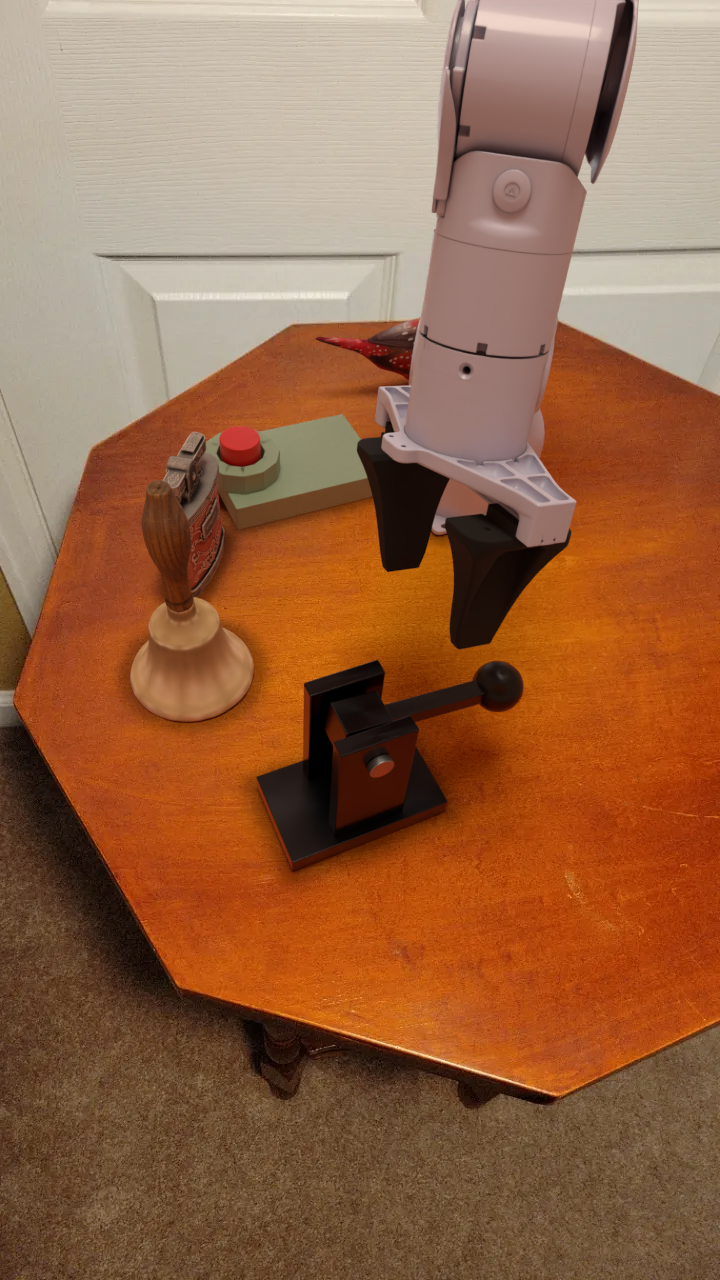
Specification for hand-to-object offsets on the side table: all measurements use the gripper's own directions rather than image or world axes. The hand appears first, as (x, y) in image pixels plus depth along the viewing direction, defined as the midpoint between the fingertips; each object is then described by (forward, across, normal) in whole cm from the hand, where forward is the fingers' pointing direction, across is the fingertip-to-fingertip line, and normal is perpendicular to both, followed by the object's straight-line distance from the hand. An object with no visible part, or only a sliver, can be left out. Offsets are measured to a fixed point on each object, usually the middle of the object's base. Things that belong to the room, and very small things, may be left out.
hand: (433, 602), depth 43 cm
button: (+3, -29, -1) cm, 29 cm away
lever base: (+14, 0, -3) cm, 14 cm away
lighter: (+10, -23, -6) cm, 25 cm away
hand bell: (+12, -13, -10) cm, 20 cm away
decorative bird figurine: (+2, -38, +18) cm, 42 cm away
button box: (+6, -29, +4) cm, 30 cm away
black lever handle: (+7, +1, 0) cm, 7 cm away
